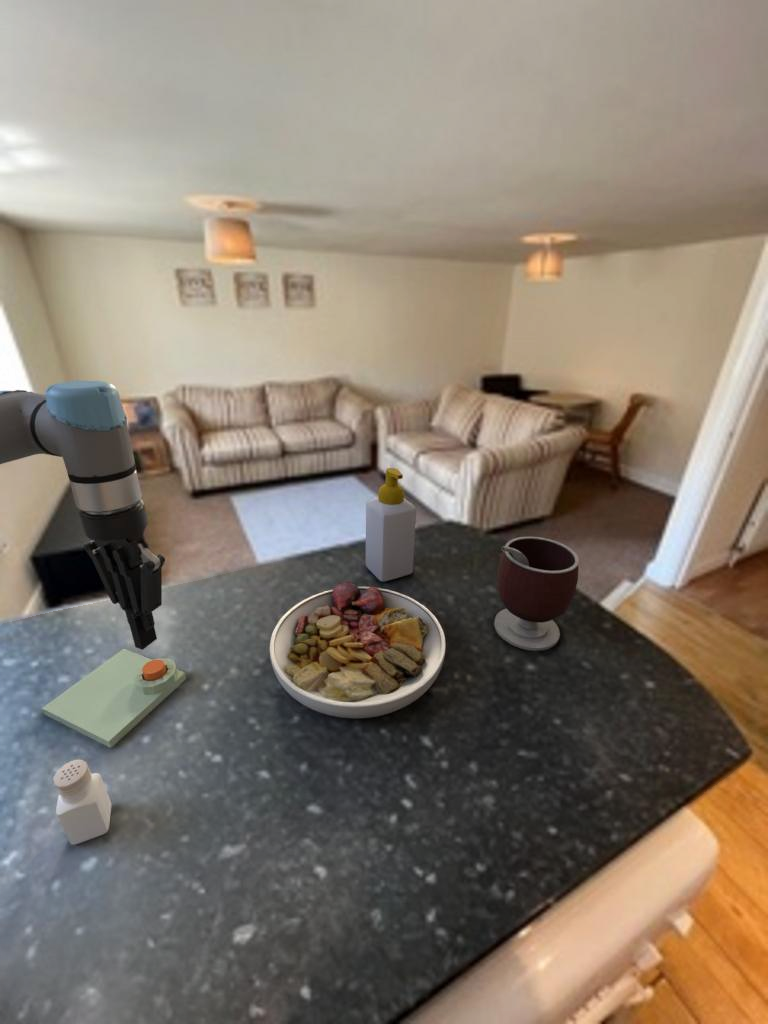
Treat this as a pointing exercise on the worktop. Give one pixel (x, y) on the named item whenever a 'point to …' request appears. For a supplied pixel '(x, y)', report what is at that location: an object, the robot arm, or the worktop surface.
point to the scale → (113, 697)
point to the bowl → (357, 651)
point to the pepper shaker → (81, 802)
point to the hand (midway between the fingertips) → (146, 642)
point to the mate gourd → (534, 590)
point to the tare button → (154, 670)
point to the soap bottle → (390, 530)
